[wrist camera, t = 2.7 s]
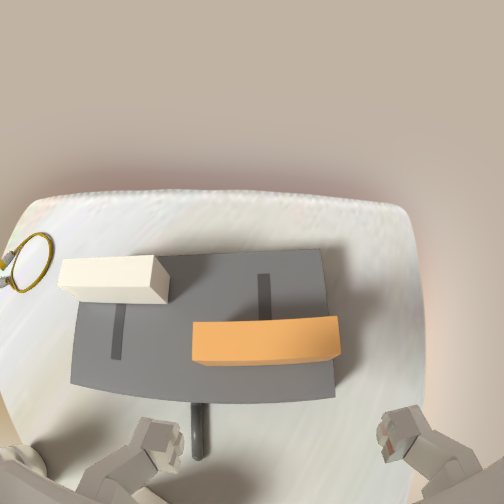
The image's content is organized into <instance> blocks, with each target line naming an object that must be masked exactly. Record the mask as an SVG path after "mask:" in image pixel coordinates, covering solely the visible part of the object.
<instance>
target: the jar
mask: <svg viewBox="0 0 504 504" xmlns="http://www.w3.org/2000/svg"><path fill="white" fill-rule="evenodd" d="M131 496H132V497H133V498H134V499H135V500H136V501H137V502H138V503H139V504H169V503H167V502H166V501H164V500H163V499H162V498H160V497H159V496H157V495H156V494H154V493H153V492H152V491H150V490H149V489H148V488H146V487H142V488H139V489H138V490H137V491H136V492H135V493H134V494H132V495H131Z"/></svg>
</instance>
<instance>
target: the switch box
mask: <svg viewBox="0 0 504 504" xmlns="http://www.w3.org/2000/svg"><path fill="white" fill-rule="evenodd" d="M156 258H157V260H158V261H159V262H160V264H161V265H162V266H163V268H164V269H165V270H166V271H167V273H168V274H169V275H170V282H169V293H168V304H127V303H96V302H81V301H79V307H78V313H77V320H76V327H75V335H74V343H73V353H72V365H71V381H70V383H71V384H75V385H79V386H83V387H87V388H92V389H97V390H101V391H107V392H112V393H117V394H123V395H130V396H136V397H143V398H151V399H160V400H169V401H180V402H191V440H192V457H193V459H194V460H196V461H200V460H202V459H203V425H202V403H217V404H260V403H282V402H297V401H308V400H318V399H326V398H334V397H335V380H334V366H333V359H331V360H329V361H321V362H310V363H298V364H284V365H263V366H204V365H202V364H200V363H197V362H195V361H192V339H193V322H234V321H264V320H284V319H300V318H314V317H327V316H329V313H328V304H327V296H326V288H325V281H324V273H323V266H322V259H321V253H320V249H309V250H287V251H286V250H283V251H262V252H240V253H223V254H201V255H180V256H158V257H156Z"/></svg>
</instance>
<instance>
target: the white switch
mask: <svg viewBox="0 0 504 504" xmlns="http://www.w3.org/2000/svg"><path fill="white" fill-rule="evenodd" d="M169 282H170V275H169V274H168V273H167V271H166V270H165V269H164V268H163V266H162V265H161V264H160V262H159V261H158V260H157V258H156V257H155V256H154V255H140V256H120V257H99V258H79V259H63V262H62V266H61V270H60V274H59V278H58V282H57V287H59V288H60V289H62V290H63V291H65V292H66V293H68V294H70V295H71V296H73V297H74V298H76V299H77V300H79V301H81V302H96V303H127V304H168V293H169Z"/></svg>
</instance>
